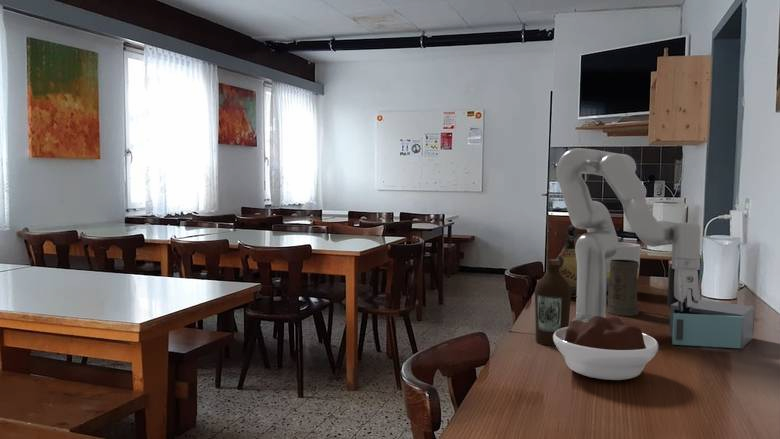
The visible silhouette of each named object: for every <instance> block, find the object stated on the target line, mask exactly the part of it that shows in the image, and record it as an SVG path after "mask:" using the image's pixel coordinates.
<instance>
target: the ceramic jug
mask: <svg viewBox="0 0 780 439" xmlns="http://www.w3.org/2000/svg"><path fill="white" fill-rule="evenodd" d="M565 235H566V237H565V238H566V240H565V246H564V249H562V251H561V252H560V253H559V254H558V256H557V257H556V258H555V259H556V260H559V273H560V274H561V276H562V277H563V278H564V279H565V280H566V281H567V282H568V284H569V286H570V289H571V297H576V296H577V259H576V252H575V246H576V243H575V239H577V238H578V236H579V232H578V230H576V227H574V226H573V224H570V225H568V227H567V228H566V232H565ZM576 298H577V297H576Z"/></svg>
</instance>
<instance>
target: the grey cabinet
mask: <svg viewBox="0 0 780 439" xmlns="http://www.w3.org/2000/svg"><path fill="white" fill-rule="evenodd" d="M669 309H670V310H669V333H668V334H669V335H668V336H669V337H670V338H671V337H673V313H678V302H676V303H674V304H672V305H670V307H669ZM691 314H702V315H722V316H743V317H745V328H744V346H746V345H747V344H748V343H749V342H751V341H753V339H754V328H755V306H754V305H753V306H752V305H744V304H737V303H729V302H721V301H716V300H715V301H713V300H704V299H699V302H698V303H695V302H693V301H692V308H691Z"/></svg>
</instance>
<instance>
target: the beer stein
mask: <svg viewBox="0 0 780 439" xmlns="http://www.w3.org/2000/svg"><path fill="white" fill-rule="evenodd" d="M638 268H639V269H640V266H639V265H638V261H634V260H621V259H618V260H611V261H610V276H609V289H608V292H607V293H608V294H607V304H608V305H607V308H606V313H609V314H610V315H614V316H620V315H621V316H623V317H633V316H638V315H639V309H638V307H639V303H638V280H637V273H638Z"/></svg>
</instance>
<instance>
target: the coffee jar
mask: <svg viewBox="0 0 780 439" xmlns="http://www.w3.org/2000/svg"><path fill="white" fill-rule="evenodd" d="M668 263H669V265H670V266H669V267H668V282H667V283H668V284H667V306H668V307H669V308H670V305H672V304H674V303H676V302H678V299H676V298H675V297H674V276H675V269H673V268H672V260H669V261H668ZM697 272H698V283H699V284H700V278H701V277H700V276H701V275H700V274H701V273H700V272H701V269H699V270H697Z"/></svg>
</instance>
